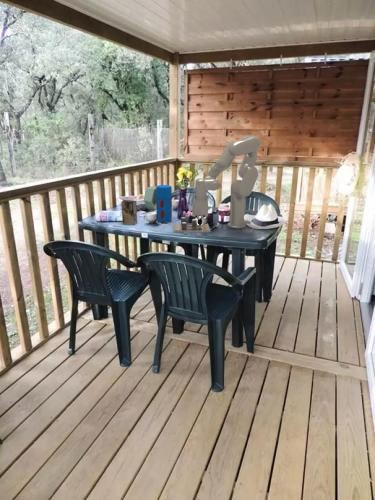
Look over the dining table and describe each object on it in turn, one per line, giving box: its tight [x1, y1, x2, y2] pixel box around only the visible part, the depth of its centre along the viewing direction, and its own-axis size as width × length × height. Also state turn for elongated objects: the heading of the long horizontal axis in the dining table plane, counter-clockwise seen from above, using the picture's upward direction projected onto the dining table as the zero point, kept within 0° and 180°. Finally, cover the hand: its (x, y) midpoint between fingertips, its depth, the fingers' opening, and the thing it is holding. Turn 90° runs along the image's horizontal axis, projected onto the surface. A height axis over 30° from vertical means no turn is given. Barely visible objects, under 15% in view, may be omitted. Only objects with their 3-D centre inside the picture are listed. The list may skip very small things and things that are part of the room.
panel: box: [172, 222, 211, 234], centre depth 237 cm, size 24×16×2 cm, turn 94°
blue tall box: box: [156, 184, 173, 224], centre depth 250 cm, size 11×11×25 cm
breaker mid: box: [191, 219, 198, 227], centre depth 236 cm, size 3×2×4 cm
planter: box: [143, 185, 157, 211], centre depth 285 cm, size 17×8×21 cm
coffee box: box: [120, 199, 138, 226], centre depth 245 cm, size 9×6×16 cm
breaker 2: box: [182, 222, 187, 229], centre depth 230 cm, size 3×2×4 cm
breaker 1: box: [180, 216, 187, 224], centre depth 241 cm, size 3×2×4 cm
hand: (199, 224), depth 236 cm, fingers closed
